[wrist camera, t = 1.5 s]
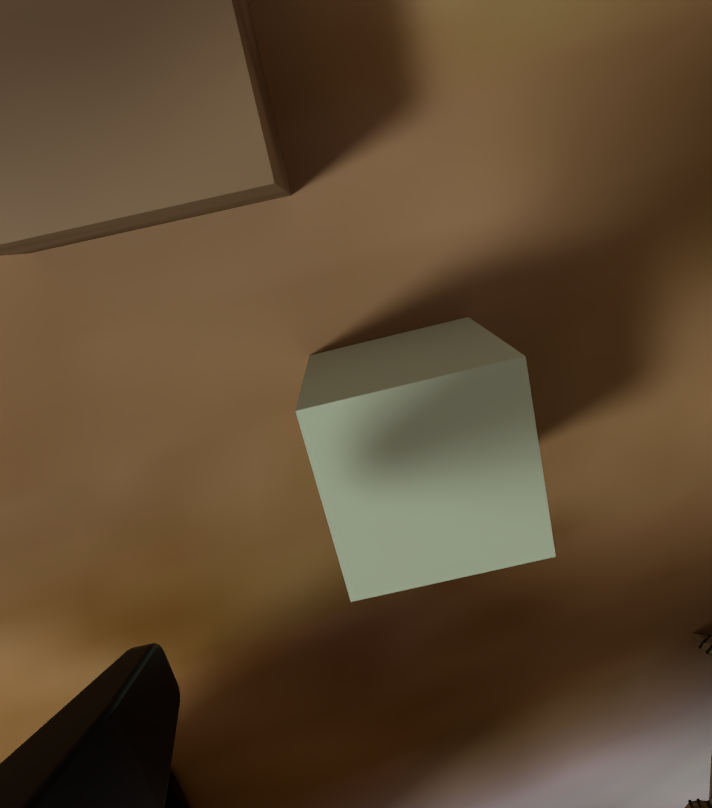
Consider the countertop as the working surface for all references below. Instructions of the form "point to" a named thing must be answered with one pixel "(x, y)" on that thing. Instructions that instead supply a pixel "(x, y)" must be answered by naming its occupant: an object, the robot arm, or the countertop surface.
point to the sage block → (426, 457)
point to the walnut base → (129, 117)
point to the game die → (708, 645)
